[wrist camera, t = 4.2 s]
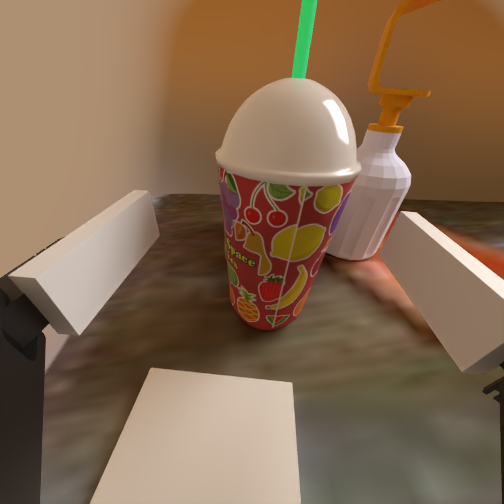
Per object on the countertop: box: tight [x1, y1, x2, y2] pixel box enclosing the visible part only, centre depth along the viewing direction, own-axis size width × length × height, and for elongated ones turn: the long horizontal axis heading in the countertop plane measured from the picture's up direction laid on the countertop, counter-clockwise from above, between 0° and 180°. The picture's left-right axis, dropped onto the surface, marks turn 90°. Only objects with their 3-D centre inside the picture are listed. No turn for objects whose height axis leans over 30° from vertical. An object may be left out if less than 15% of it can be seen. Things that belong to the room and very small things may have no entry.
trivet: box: [90, 368, 301, 504], centre depth 11 cm, size 10×10×1 cm
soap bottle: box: [326, 0, 440, 260], centre depth 23 cm, size 9×9×25 cm
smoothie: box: [215, 0, 361, 331], centre depth 15 cm, size 8×8×20 cm
